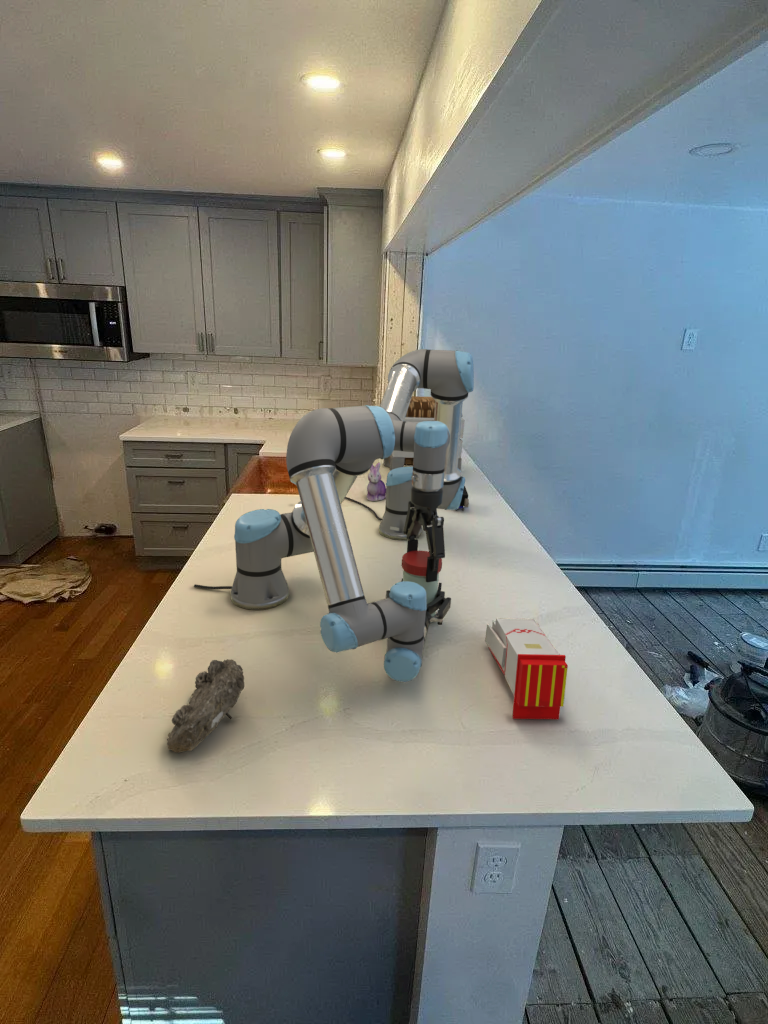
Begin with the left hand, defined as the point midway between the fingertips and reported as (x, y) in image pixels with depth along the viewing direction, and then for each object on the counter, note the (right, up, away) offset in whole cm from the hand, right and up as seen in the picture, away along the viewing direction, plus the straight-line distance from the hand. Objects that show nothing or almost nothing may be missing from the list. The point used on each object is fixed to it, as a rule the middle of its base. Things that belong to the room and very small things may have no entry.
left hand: (421, 585), depth 149 cm
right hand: (0, +4, -6) cm, 8 cm away
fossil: (-43, -20, -41) cm, 62 cm away
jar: (-1, -8, -2) cm, 8 cm away
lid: (0, +7, -7) cm, 10 cm away
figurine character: (+20, +21, +81) cm, 86 cm away
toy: (+19, -17, -25) cm, 36 cm away
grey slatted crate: (+7, +38, +126) cm, 132 cm away
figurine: (-13, +25, +87) cm, 91 cm away
